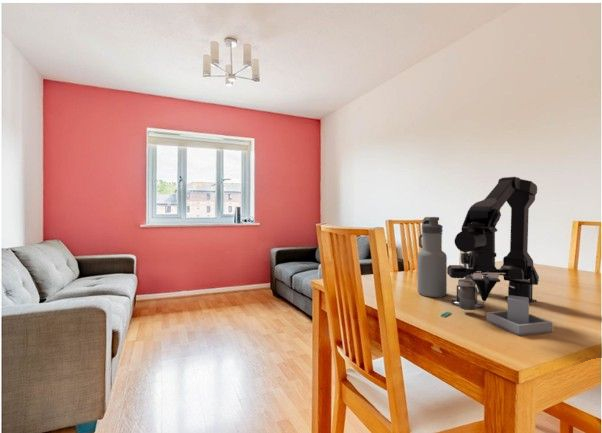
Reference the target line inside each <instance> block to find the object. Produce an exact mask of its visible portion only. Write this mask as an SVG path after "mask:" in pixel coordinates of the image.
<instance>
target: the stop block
mask: <svg viewBox="0 0 602 433" xmlns="http://www.w3.org/2000/svg"><path fill="white" fill-rule="evenodd" d="M507 296H508V299H507V310H508V319H507V320H509V321H512V322H514V323H517V324H527V323H529V314H530V313H529V312H530V308H529V307H530V302H529V298H528V297H520V296H512V295H508V294H507Z"/></svg>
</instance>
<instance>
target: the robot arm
mask: <svg viewBox="0 0 602 433" xmlns="http://www.w3.org/2000/svg"><path fill="white" fill-rule="evenodd" d="M537 193H538V186H537V184H536V183H534V182H533V181H532V180H527V179H522V178H520V177H517V176H509V177H508V176H507V177H506V176H505V177H501V178H499V179H498V182H497V183H496V185H495V186H494V188H493V189H492V190H491V191H490V192H489V194H488V195H486V197H485V198H484V199H483V200H480V201H477V202H475V203H473V205H471V206H470V207H469V209H468V211H467V213H466V215H465V217H464V220H463V223H462V225H461V229H460V230H461V231H460V232H458V233H457V234H456V235H455V238H454V245H455V247H456V249H458V251H459V252H460V251H462V252H470V251H472V252H471V256H469V254H468V253H462V254H461V263H462V264H468V267H469V268H464V267H463V266H462V265H459V264H449V265H448V266H447V275H448V276H449V277H450V278H452V279H462V278H464V277H465V276H466V275H468V277H469V278H470V279H471V280H472V281H474V282H475V283H476V285H477V288H478V290H479V292H478V293H479V295H480V298H481V302H487V299H488V298H489V295H490V293H491V292H492V290H493V289H494V287H495V286H496V284H497V283H500V282H501V279H500V278H499V277H500V276H502V277H503V280H504V281H505V282H506V281H508V286H507V287H508V288H507V289H508V290H507V295H505V296H504V298H505V299H507V300H508V295H512V296H520V297H528V298H529V303H537V299H535V298H533V289H534V286H535V285H536V286H537V285H539V281H540V280H539V279H540V278H539V277H540V276H539V274H538V272H537V270H536V268H535V267H534V259H533V258H532V257H531V255H530V254H529V252H528V250H529V249H528V248H529V247H528V243H529V242H528V241H529V209H530V207H531V206H532V204H534V202H535V200H536V195H537ZM506 202H507V204H508V206H509V207H510V240H509V244H510V246H509V252H508V253H507V255H506V256H504V257H503V258H502V262H503V264H502V265H501V267H499V268H497V267H496V258H497V253H496V232H498V228H497V227H496V226H497V225H498V222H499V221H500V218H501V216H502V213H501V210H502V207H503V206H504V205H505V203H506ZM476 271H477V272H476Z"/></svg>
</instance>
